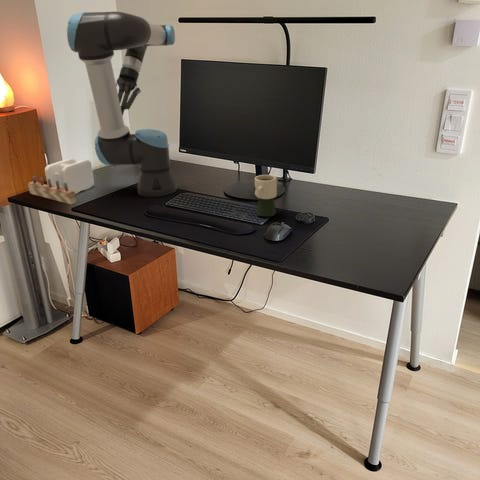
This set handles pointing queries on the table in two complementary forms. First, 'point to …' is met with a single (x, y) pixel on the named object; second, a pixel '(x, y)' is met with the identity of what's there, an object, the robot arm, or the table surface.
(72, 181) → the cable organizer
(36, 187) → the comb rail
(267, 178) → the character mug
